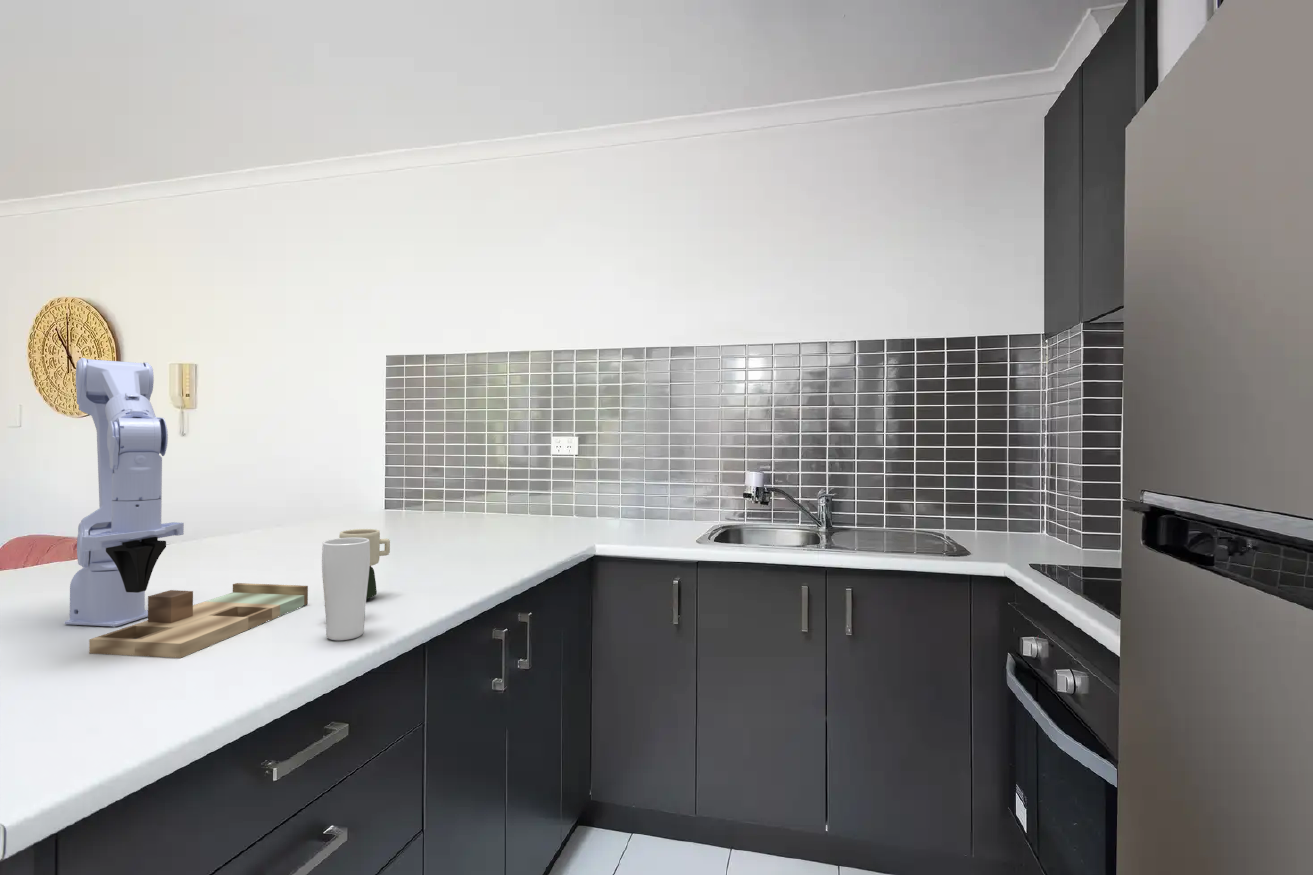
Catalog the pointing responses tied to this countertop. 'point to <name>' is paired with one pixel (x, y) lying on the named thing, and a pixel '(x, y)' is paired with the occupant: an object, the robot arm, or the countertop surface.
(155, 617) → the block
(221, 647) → the countertop surface
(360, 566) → the drinking glass
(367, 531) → the character mug
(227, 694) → the countertop surface
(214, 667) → the countertop surface
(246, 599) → the wooden board
